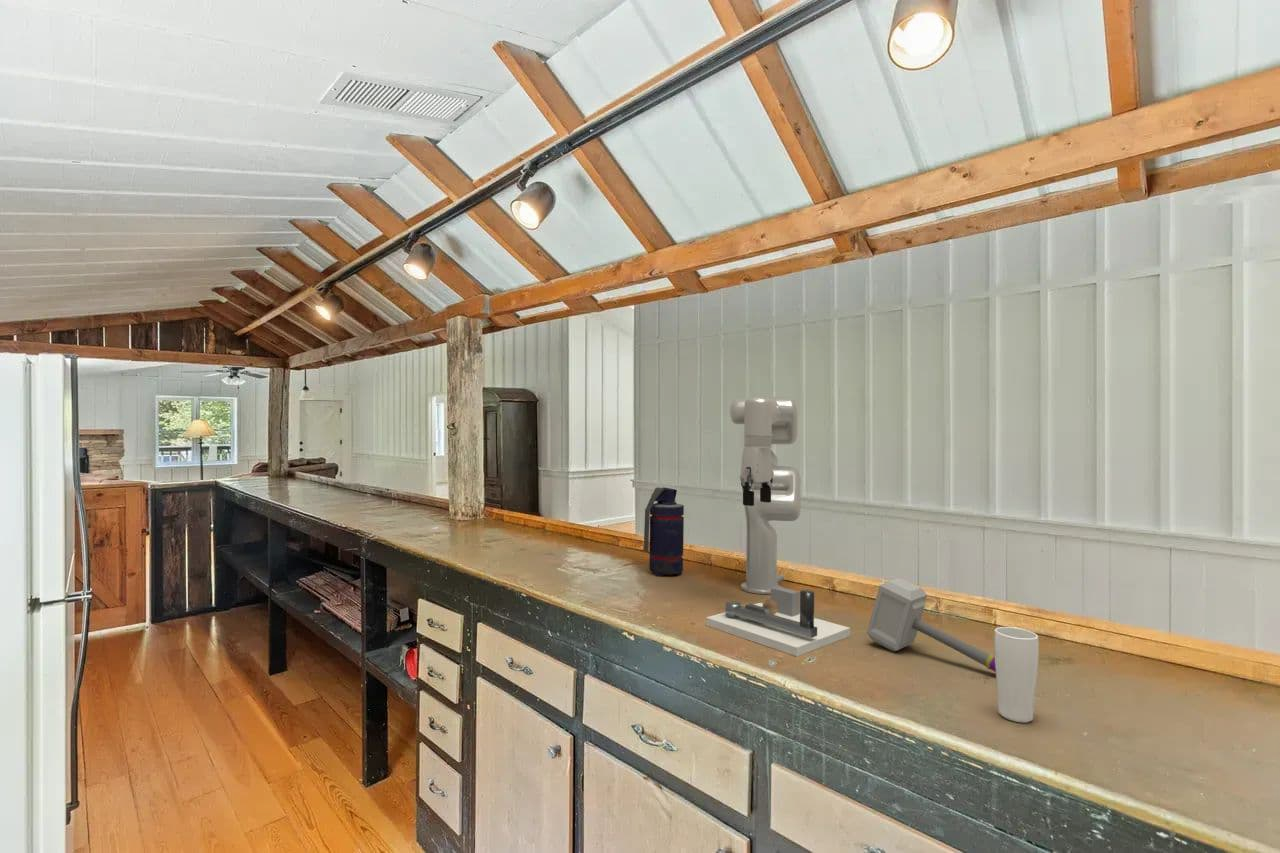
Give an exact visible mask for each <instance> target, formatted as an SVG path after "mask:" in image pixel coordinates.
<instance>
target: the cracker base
mask: <svg viewBox="0 0 1280 853" xmlns="http://www.w3.org/2000/svg"><path fill="white" fill-rule="evenodd" d="M770 599H772V600H774V601H776V603H777V604H778V611H777V613H776V614H774V615H776V616H779V617H783V618H787V619H790V620H794V621H797V622H800V591H797V590H793V589H790V588H789V589H788V588H785V587H782V586H781V587H774V588H771V594H770ZM763 603H764V602H758V603H754V604H753V605H757V606H761V607H763ZM705 626H707V627H710V628H713V629H716V630H719V631H722V632H724V633H728V634H730V635H733V636H736V637H739V638H741V639H744V640H745V639H746V640H748V641H751V642H753V643H756V644H760V645H763V646H765V647H769V648H771V649H774V650H777V651H779V652H783V653H786V654H789V655H791V656H793V657H794V656H795V657H800V656H802V655H804V654H805V655H806V654H807V653H809V652H812V651H815V650H817V649H820V648H823V647H825V646H828V645H830V644H833V643H836V642H838V641H841V640H843V639H846V638H849V637H851V627H848V626H845V625H841V624H838V623H833V622H830V621H828V620H823V619H819V618H816V617H814V626H815V627H817V636H815V637H813V638H810V637H806V636H803V635H800V634H796V633H793V632H790V631H786V630H783V629H780V628H776V627H773V626H769V625H766V624H763V623H759V622H756V621H753V620H749V619H746V618H742V617H729V616H726V615H725V612H721V613H718V614H714V615H710V616H706V617H705Z"/></svg>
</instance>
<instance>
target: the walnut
mask: <svg viewBox="0 0 1280 853" xmlns="http://www.w3.org/2000/svg"><path fill="white" fill-rule="evenodd" d="M762 603H763V607H764V608H768V609H769V614H772V615H774V614H776V613H777V611H778V604H777V603H776V601H774V600H772V599H771V598H770V599H766V600H764V602H762Z"/></svg>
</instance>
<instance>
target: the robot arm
mask: <svg viewBox="0 0 1280 853" xmlns="http://www.w3.org/2000/svg"><path fill="white" fill-rule="evenodd" d="M797 409H798V408H797V404H796V402H795V400H794V399H793V398H791V397H788V396H787V397H786V396H781V397H780V396H779V397H777V396H775V397H773V396H767V397H766V396H757V397H749V398H734V399H733V400H732V402H731V404H730V407H729V415H730V419H731V421H732V423H733V424H735V425H743V426H744V427H743V428H744V430H743V431H744V432H743V434H744V435H743V437H744V438H743V450H742V454H741V455H742V456H741V463H740V464H741V465H740V475H739V479H740V485H741V490H742V505H743V507H744V513H745V514H744V515H745V523H746V524H745V525H746V527H745V529H746V545H745V546H746V549H745V550H746V552H745V556H746V557H745V559H746V561H745V562H746V564H745V566H746V567H745V568H746V569H745V582H742V583H740V588H741V590H742V591H744V592H748V593H751V594H757V595H771V588H774V587H782V586H781V585H780V584H779V582H780V581H783V580H785V579H786V578H785V575H784V574H783V573H780V574H779V573H777V567H778V566H777V565H778V564H777V563H778V562H777V561H778V555H777V553H778V535H777V532H776V530H775V528H774V526H773V525H772V524H771V523H770V521H772V522H773V521H777V522H778V521H779V522H794V521H797V520H798V519H799V517H800V515H801V505H802V504H801V495H802V494H801V476H800V472H799V470H798V469H797V468H796V467H794V466H791V465H778V457H777V455H776V454H775V452H773V451H772V449H771V448H772V445H782V446H783V445H785V446H786V445H793V444H794V443H796V441H797V438H798V410H797Z"/></svg>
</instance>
